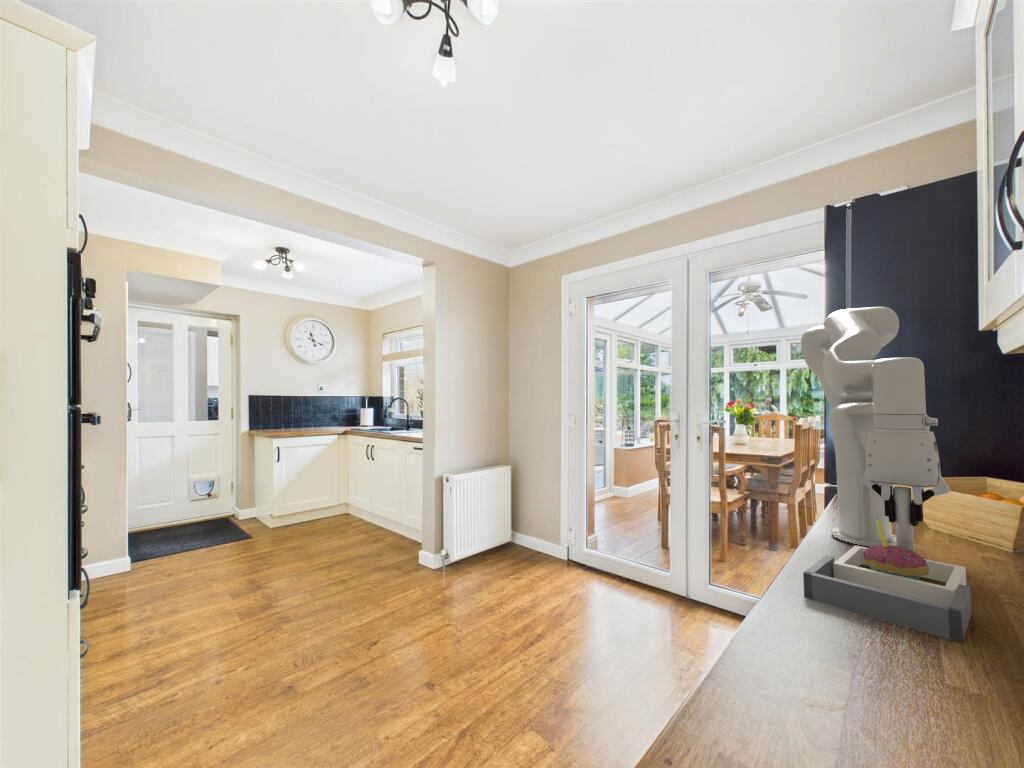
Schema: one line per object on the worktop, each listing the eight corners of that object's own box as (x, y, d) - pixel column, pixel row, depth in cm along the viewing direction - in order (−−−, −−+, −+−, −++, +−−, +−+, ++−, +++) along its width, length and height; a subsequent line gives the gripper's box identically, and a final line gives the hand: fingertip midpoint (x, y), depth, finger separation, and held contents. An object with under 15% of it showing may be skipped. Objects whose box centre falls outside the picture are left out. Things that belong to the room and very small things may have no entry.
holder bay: (827, 577, 81) (826, 554, 81) (971, 613, 67) (970, 586, 67) (804, 597, 73) (803, 572, 73) (962, 643, 59) (960, 612, 59)
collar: (856, 559, 88) (853, 481, 89) (966, 583, 76) (961, 492, 77) (833, 580, 78) (830, 492, 79) (956, 611, 67) (950, 507, 67)
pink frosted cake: (862, 589, 75) (859, 518, 76) (865, 574, 82) (862, 509, 82) (931, 604, 70) (927, 527, 70) (928, 586, 76) (925, 516, 77)
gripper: (963, 424, 78) (968, 528, 78) (851, 421, 91) (855, 511, 90) (957, 426, 74) (963, 537, 73) (841, 423, 86) (845, 518, 85)
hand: (903, 521), depth 82 cm, fingers closed on collar, 2 cm apart
